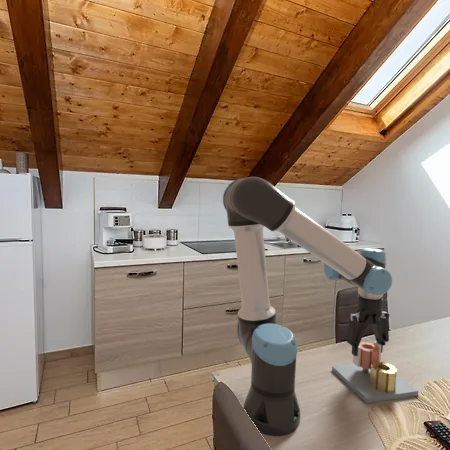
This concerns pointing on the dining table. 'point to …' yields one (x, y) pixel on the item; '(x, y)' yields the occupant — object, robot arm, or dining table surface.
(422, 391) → the dining table surface
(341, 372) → the peg board
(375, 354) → the gear red
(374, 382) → the gear brass
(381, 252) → the robot arm
